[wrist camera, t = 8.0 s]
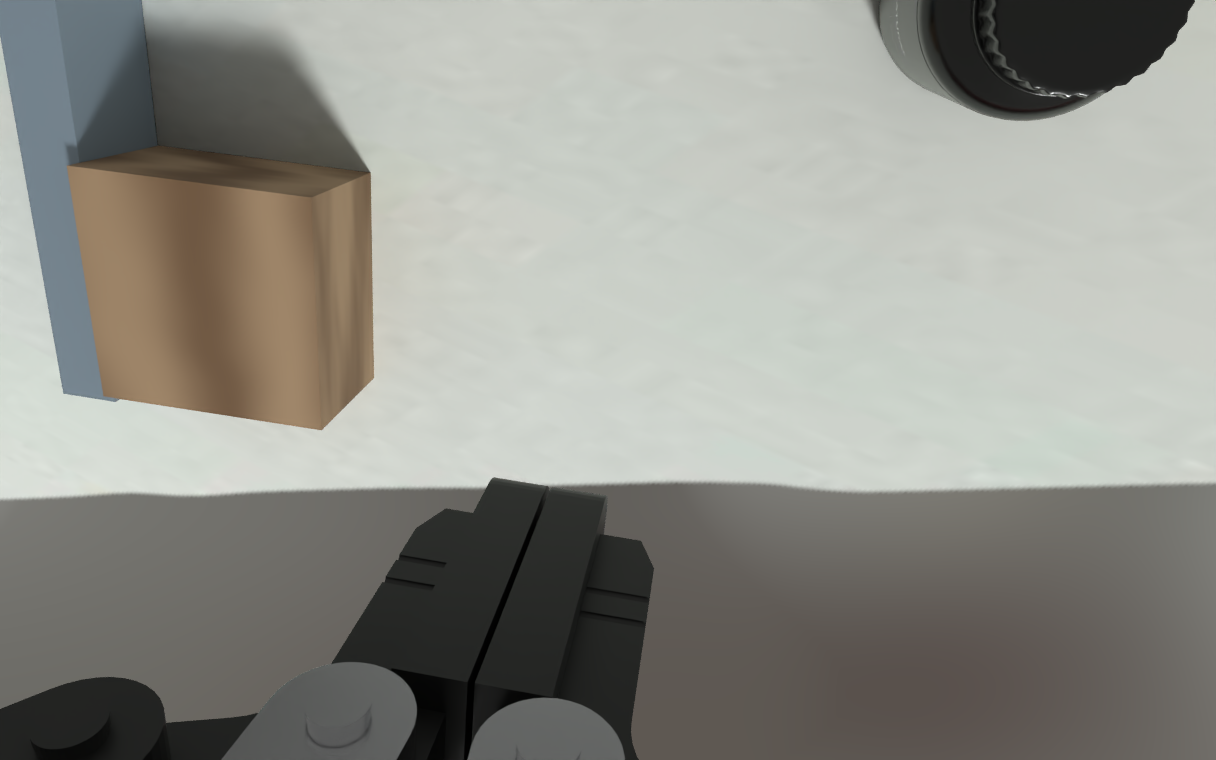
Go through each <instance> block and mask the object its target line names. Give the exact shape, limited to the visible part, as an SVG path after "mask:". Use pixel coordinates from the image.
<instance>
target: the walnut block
mask: <svg viewBox="0 0 1216 760" xmlns="http://www.w3.org/2000/svg"><path fill="white" fill-rule="evenodd" d="M67 171H68V177H69V183H70V190H71V196H72V202H73V208H74V215H75V221H76V227H77V234H78V240H79V246H80V252H81V259H82V265H83V271H84V277H85V284H86V290H87V296H88V303H89V309H90V315H91V321H92V328H93V334H94V340H95V347H96V353H97V359H98V365H99V372H100V378H101V384H102V390H103V396H105V397H111V398H117V399H124V400H130V401H137V402H143V403H150V404H156V405H163V406H169V407H175V408H182V409H188V410H195V411H201V412H208V413H214V414H221V415H227V416H233V417H240V418H246V419H253V420H259V421H266V422H272V423H279V424H285V425H291V426H298V427H304V428H311V429H317V430H322V429H323V428H324V427H325V426H326V425H327V424H328V423H329V422H330V421H331V420H332V419H333V418H334V417H335V416H336V415H337V414H338V413H339V412H340V411H341V410H342V409H343V408H344V407H345V406H346V405H347V404H348V403H349V402H350V401H351V400H352V399H353V398H354V397H355V396H356V395H357V394H358V393H359V392H360V391H361V390H362V389H363V388H364V387H365V386H366V385H367V384H368V383H369V382H370V381H371V380H372V379H373V378H374V355H373V293H372V230H371V173H369V172H361V171H353V170H346V169H338V168H330V167H322V166H314V165H307V164H299V163H291V162H283V161H275V160H268V159H260V158H252V157H244V156H236V155H228V154H221V153H213V152H205V151H197V150H189V149H182V148H174V147H166V146H154V147H150V148H145V149H141V150H136V151H131V152H127V153H122V154H118V155H113V156H108V157H104V158H99V159H95V160H90V161H86V162H81V163H76V164H72V165H67Z"/></svg>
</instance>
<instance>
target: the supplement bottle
mask: <svg viewBox="0 0 1216 760" xmlns="http://www.w3.org/2000/svg"><path fill="white" fill-rule="evenodd" d="M1194 2H1195V0H880V2H879V21H880V29H881V34H882V37H883V41H884V44H885V46H886V49H887V51H888V53H889V55H890V56H891V58H892V60H893V61H894V63H895V64H896V65H897V67H898V68H899V69H900V70H901V71H902V72H903V73H904V74H905V75H906V76H907V77H908V78H909V79H911V80H912V81H913V82H915V83H916V84H918V85H920V86H921V87H923V88H925V89H926V90H928V91H931V92H933V93H935V94H937V95H940V96H942V97H944V98H946V99H948V100H951V101H953V102H955V103H957V104H960V105H962V106H964V107H966V108H968V109H971V110H973V111H975V112H977V113H980V114H983V115H986V116H990V117H994V118H999V119H1004V120H1014V121H1031V120H1040V119H1046V118H1051V117H1055V116H1058V115H1062V114H1065V113H1067V112H1070V111H1073V110H1075V109H1078V108H1080V107H1082V106H1084V105H1086V104H1088V103H1090V102H1091V101H1093V100H1095V99H1097V98H1098V97H1100V96H1101V95H1103V94H1104V93H1107V92H1108V91H1110V90H1111V89H1112V88H1114V87H1115V86H1121V85H1126V84H1127V83H1128V82H1129V81H1130V80H1131V79H1132V78H1133V77H1134V76H1137V75H1140V74H1143V73H1145V71H1146V70H1147V69H1148V68H1149V66H1150V65H1151V64H1152V63H1154V62H1156V61H1157V60H1159V59H1161V57H1162V56H1163V54H1164V51H1165V50H1166V48H1168V47H1169V46H1170V45H1171V44H1173V43H1174V42H1175V41H1176V38H1177V34H1178V31H1179V30H1180V29H1181V28H1182V27H1183V26H1184V25H1185V23H1186V22H1187V18H1188V11H1189V10H1190V8H1191V7H1192V5H1193V4H1194Z"/></svg>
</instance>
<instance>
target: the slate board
mask: <svg viewBox="0 0 1216 760" xmlns="http://www.w3.org/2000/svg"><path fill="white" fill-rule="evenodd" d="M0 37H1V43H2V48H3V54H4V60H5V65H6V71H7V77H8V82H9V88H10V94H11V99H12V105H13V111H14V116H15V122H16V127H17V133H18V139H19V144H20V150H21V156H22V161H23V167H24V173H25V178H26V184H27V190H28V195H29V201H30V207H31V212H32V218H33V224H34V229H35V235H36V241H37V246H38V252H39V258H40V263H41V269H42V275H43V280H44V286H45V292H46V297H47V303H48V309H49V314H50V320H51V326H52V331H53V337H54V342H55V348H56V354H57V359H58V365H59V371H60V376H61V382H62V388H63V393H64V394H70V395H76V396H82V397H88V398H95V399H101V400H107V401H113V402H116V401H117V400H119V399H117V398H111V397H105V396H103V390H102V384H101V378H100V372H99V365H98V359H97V353H96V347H95V340H94V334H93V328H92V321H91V315H90V309H89V303H88V296H87V290H86V284H85V277H84V271H83V265H82V259H81V252H80V246H79V240H78V234H77V227H76V221H75V215H74V208H73V202H72V196H71V190H70V183H69V177H68V171H67V165H72V164H76V163H81V162H86V161H90V160H95V159H99V158H104V157H108V156H113V155H118V154H122V153H127V152H131V151H136V150H141V149H145V148H150V147H154V146H158V145H157V136H156V127H155V118H154V109H153V100H152V91H151V82H150V73H149V65H148V56H147V47H146V38H145V29H144V20H143V11H142V2H141V0H0Z"/></svg>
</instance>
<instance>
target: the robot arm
mask: <svg viewBox="0 0 1216 760" xmlns="http://www.w3.org/2000/svg"><path fill="white" fill-rule="evenodd" d="M606 512H607V496H606V495H600V494H593V493H587V492H581V491H575V490H569V489H563V488H557V487H552V488H551V490H550V491H549V487H548V486H543V485H537V484H531V483H525V482H519V481H513V480H506V479H500V478H492V479H491V481H490V482H489V484H488V486H487V488H486V490H485V492H484V494H483V495H482V497H481V499H480V501H479V503H478V505H477V507H476V509H475V511H474V513H469V512H463V511H457V510H451V509H444V510H443V511H442V512H440V513H438V514H437V515H435V516H434V517H432V518H431V519H429V520H428V521H426V522H425V523H424V524H422V525H420V526H419V527H417V528H416V529H415V531H414V532H413V534H412V536H411V537H410V539H409V540H408V542H407V544H406V545H405V547H404V548H403V550H402V552H401V553H400V556H399V560H396V561H395V563H394V564H393V566H392V568H391V569H390V571H389V572H388V574H387V576H386V580H385V582H382V584H381V585H380V587H379V588H378V590H377V592H376V593H375V595H374V597H373V598H372V600H371V601H370V603H369V604H368V606H367V608H366V609H365V611H364V613H363V614H362V616H361V617H360V619H359V620H358V622H357V624H356V625H355V627H354V628H353V630H352V632H351V633H350V635H349V636H348V638H347V640H346V641H345V643H344V644H343V646H342V648H341V649H340V651H339V653H338V654H337V656H336V657H335V659H334V660H333V662H332V664H329V665H324V666H321V667H318V668H314V669H311V670H309V671H307V672H305V673H302V674H300V675H298V676H297V677H295V678H293V679H292V680H290V681H289V682H287V683H286V684H285V685H283V686H282V687H281V688H280V689H279V690H277V691H276V693H275V694H274V695H273V696H272V697H271V698H270V699H269V700H268V702H267V703H266V704H265V705H264V706H263V708H262V709H261V710H260V712H259V713H256V714H252V715H247V716H241V717H234V718H223V719H209V720H196V721H184V722H172V723H166V720H165V713H164V707H163V704H162V702H161V700H160V698H159V697H158V696H157V694H156V693H155V692H154V691H153V690H152V689H150V688H149V687H147V686H146V685H144V684H141V683H139V682H137V681H133V680H129V679H125V678H115V677H100V678H91V679H85V680H79V681H75V682H71V683H67V684H64V685H61V686H58V687H55V688H52V689H49V690H47V691H45V692H42V693H39V694H37V695H35V696H32V697H29V698H27V699H25V700H22V701H19V702H17V703H14V704H12V705H9V706H7V707H4V708H2V709H0V760H639V759H638V758H637V756H636V753H635V750H634V747H633V744H632V737H631V722H632V715H633V708H634V701H635V694H636V687H637V680H638V674H639V667H640V660H641V653H642V646H643V639H644V633H645V626H646V619H647V612H648V605H649V598H650V592H651V584H652V578H653V571H654V568H653V566H652V563H651V561H650V559H649V557H648V555H647V553H646V550H645V548H644V547H643V544H642V542H641V541H638V540H632V539H626V538H620V537H614V536H608V535H604V528H605V520H606Z"/></svg>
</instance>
